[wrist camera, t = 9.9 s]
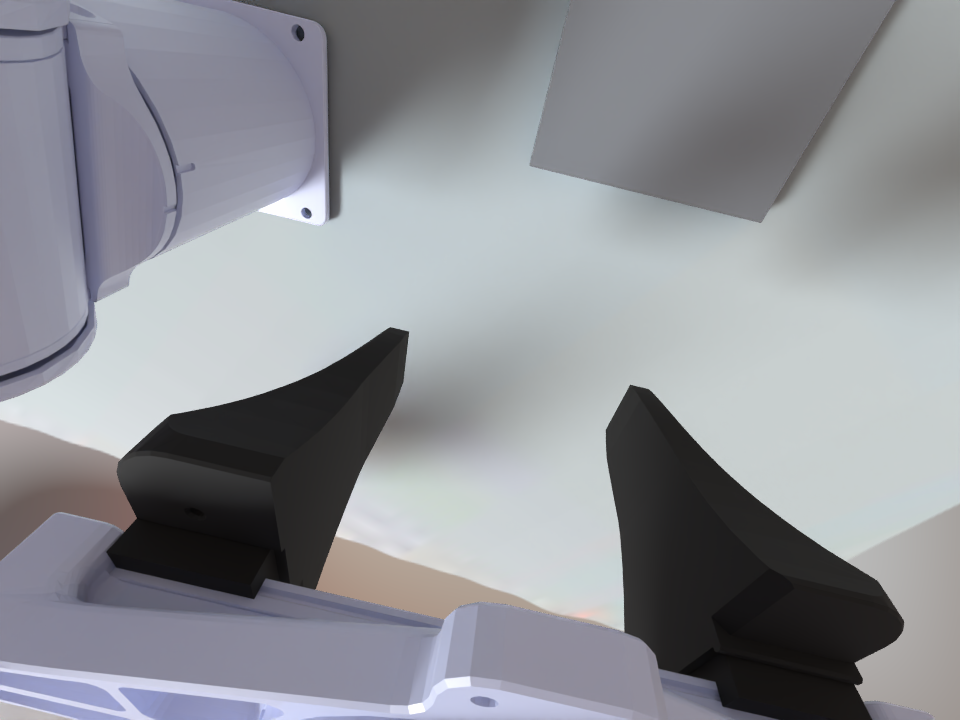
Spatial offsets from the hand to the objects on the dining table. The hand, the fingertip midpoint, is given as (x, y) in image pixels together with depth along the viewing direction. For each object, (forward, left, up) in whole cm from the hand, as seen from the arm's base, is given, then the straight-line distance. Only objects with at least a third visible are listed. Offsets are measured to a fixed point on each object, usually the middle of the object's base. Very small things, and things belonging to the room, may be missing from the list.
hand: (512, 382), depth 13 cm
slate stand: (+4, +10, -9) cm, 14 cm away
